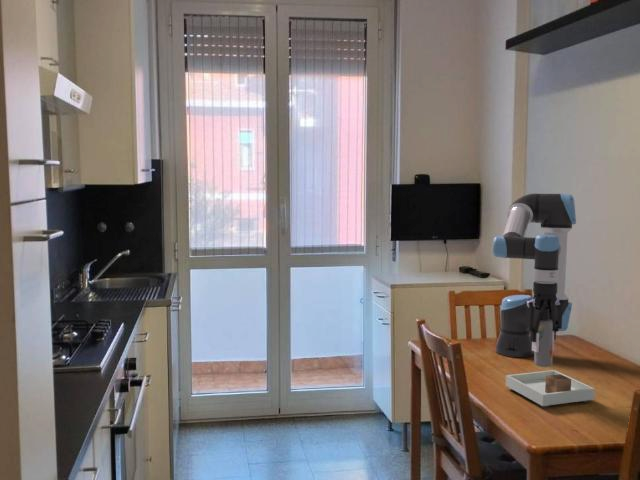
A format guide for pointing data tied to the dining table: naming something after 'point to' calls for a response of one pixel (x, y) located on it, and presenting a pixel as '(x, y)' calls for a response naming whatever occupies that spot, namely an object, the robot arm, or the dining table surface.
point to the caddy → (535, 389)
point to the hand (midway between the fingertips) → (542, 350)
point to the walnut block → (557, 383)
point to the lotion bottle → (544, 340)
